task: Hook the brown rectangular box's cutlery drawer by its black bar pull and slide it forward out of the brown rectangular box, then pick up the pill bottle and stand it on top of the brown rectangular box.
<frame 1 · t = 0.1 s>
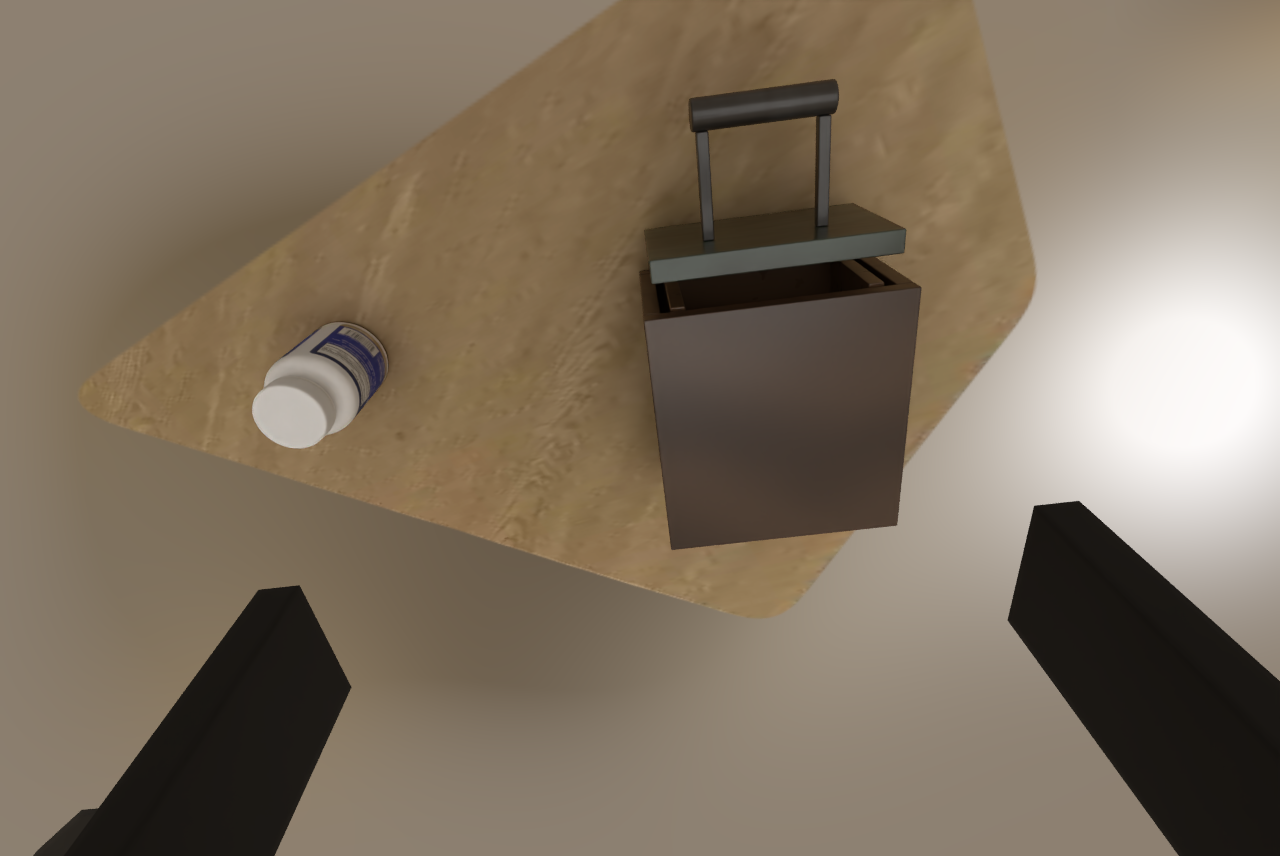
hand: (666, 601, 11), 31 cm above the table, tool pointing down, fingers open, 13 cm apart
pill bottle: (351, 356, 42), on the table
brown rectangular box: (750, 364, 43), on the table
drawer: (762, 290, 35), point 5 cm above the table, slide at 1.5 cm
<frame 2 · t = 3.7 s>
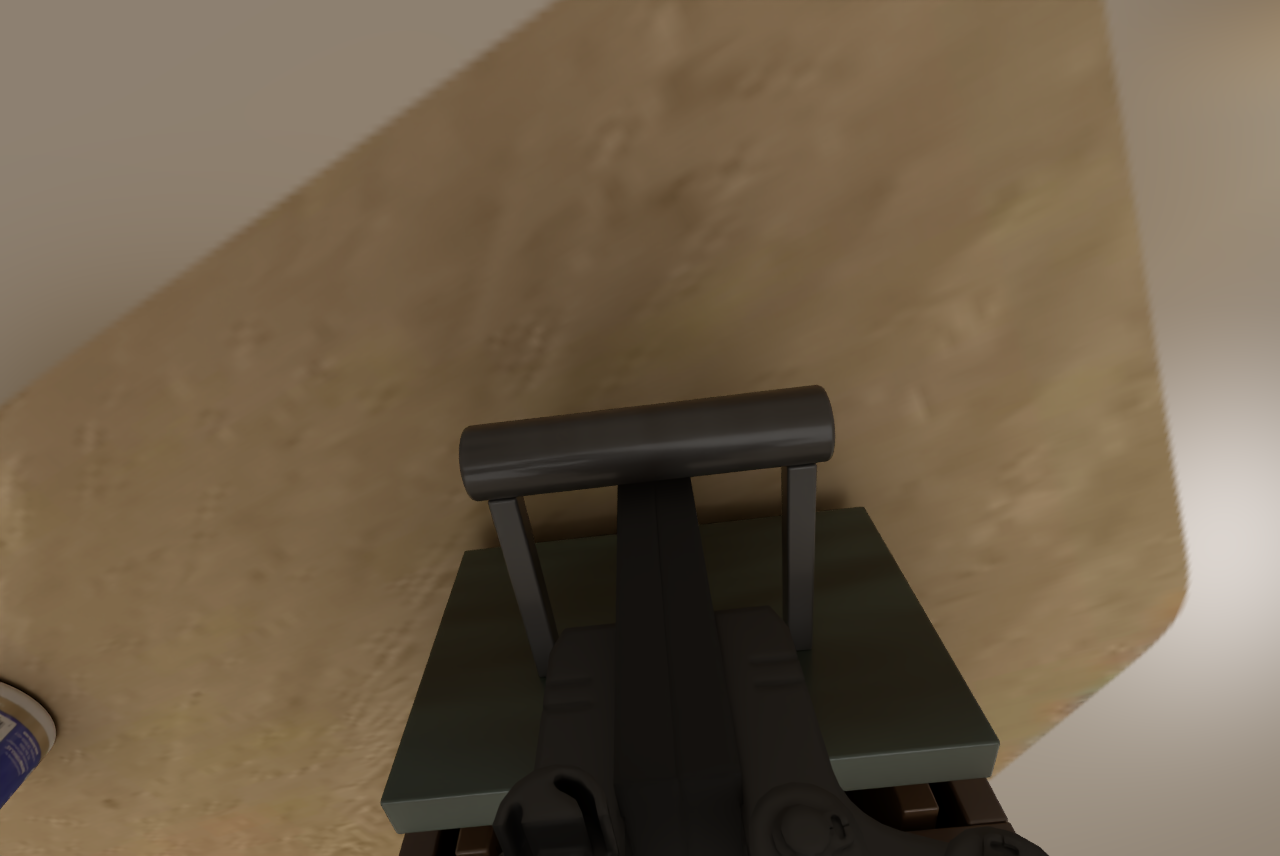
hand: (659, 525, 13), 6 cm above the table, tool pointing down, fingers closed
brown rectangular box: (685, 710, 25), on the table
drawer: (682, 710, 18), point 5 cm above the table, slide at 1.6 cm, touching gripper
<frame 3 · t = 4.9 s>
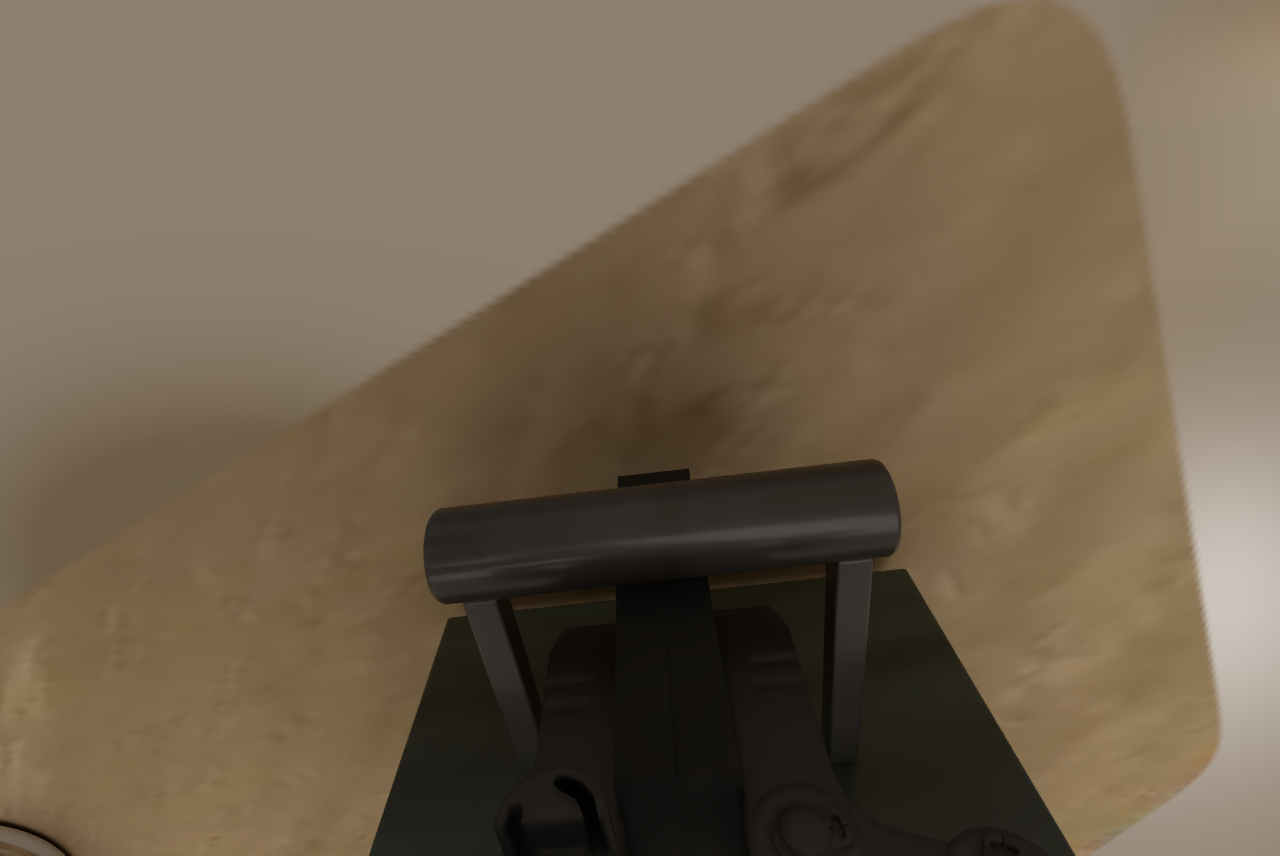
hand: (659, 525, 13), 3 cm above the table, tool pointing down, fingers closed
pill bottle: (8, 851, 24), on the table
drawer: (698, 812, 15), point 5 cm above the table, slide at 6.2 cm, touching gripper
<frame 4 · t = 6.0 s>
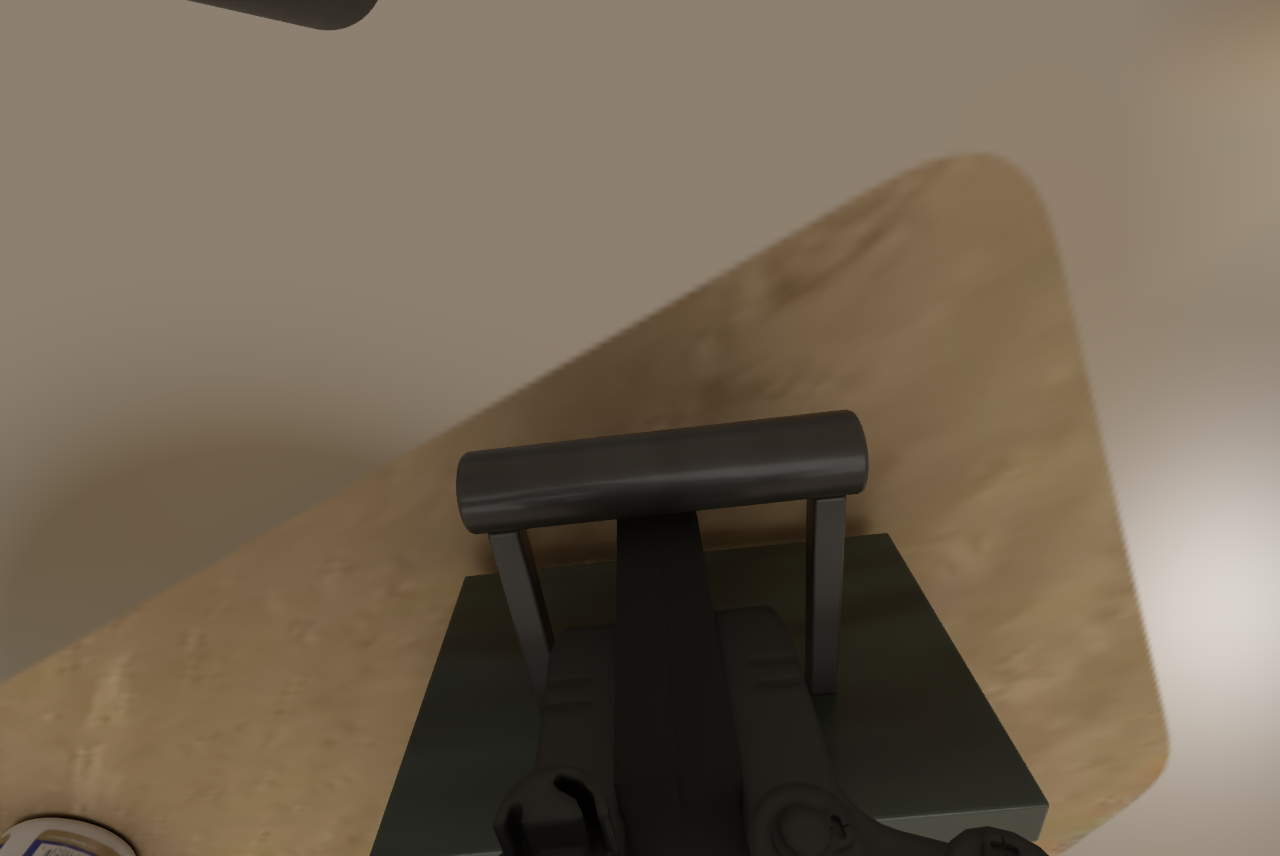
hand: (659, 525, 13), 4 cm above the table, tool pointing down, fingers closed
pill bottle: (80, 844, 27), on the table
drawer: (694, 751, 16), point 5 cm above the table, slide at 8.9 cm
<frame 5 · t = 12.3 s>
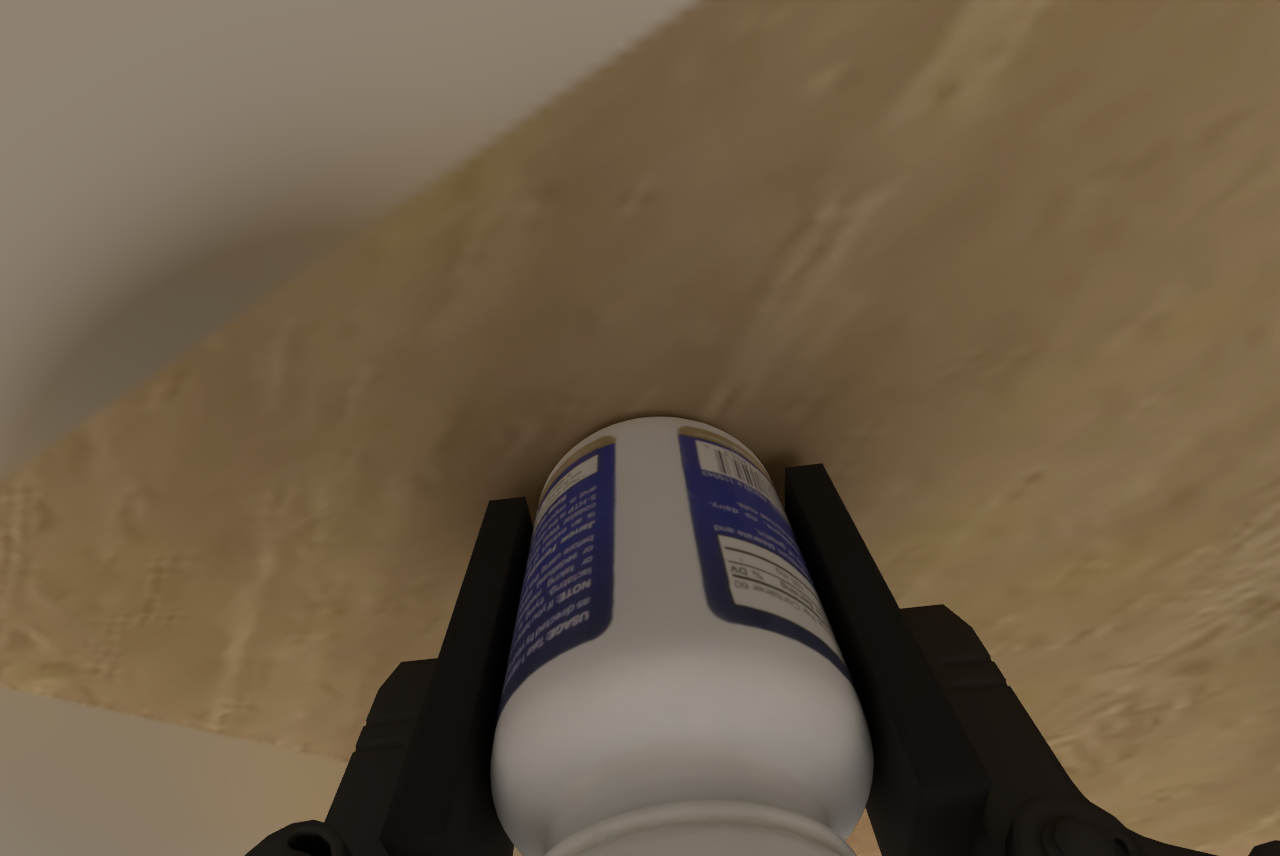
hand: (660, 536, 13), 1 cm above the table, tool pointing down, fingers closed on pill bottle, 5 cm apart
pill bottle: (658, 508, 14), on the table, touching gripper
when the fingers open (11 cm above the table, at t = 19.7 s): pill bottle stays where it is, resting on brown rectangular box.
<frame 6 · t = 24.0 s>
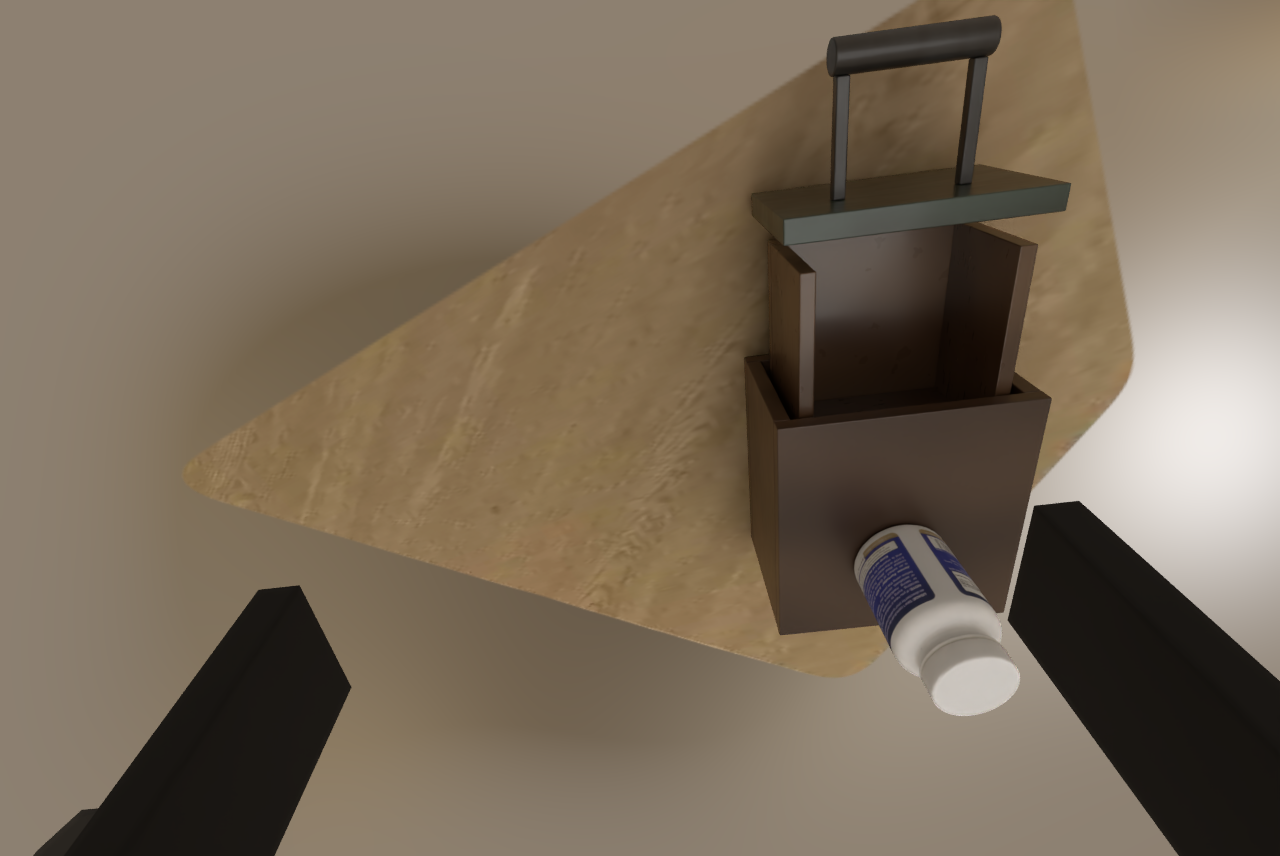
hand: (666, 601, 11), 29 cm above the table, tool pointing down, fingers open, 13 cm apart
pill bottle: (897, 555, 36), point 10 cm above the table, touching brown rectangular box
brown rectangular box: (846, 442, 43), on the table
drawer: (887, 257, 32), point 5 cm above the table, slide at 8.9 cm
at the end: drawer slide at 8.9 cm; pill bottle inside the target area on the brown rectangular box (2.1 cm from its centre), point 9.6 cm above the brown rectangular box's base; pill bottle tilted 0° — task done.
